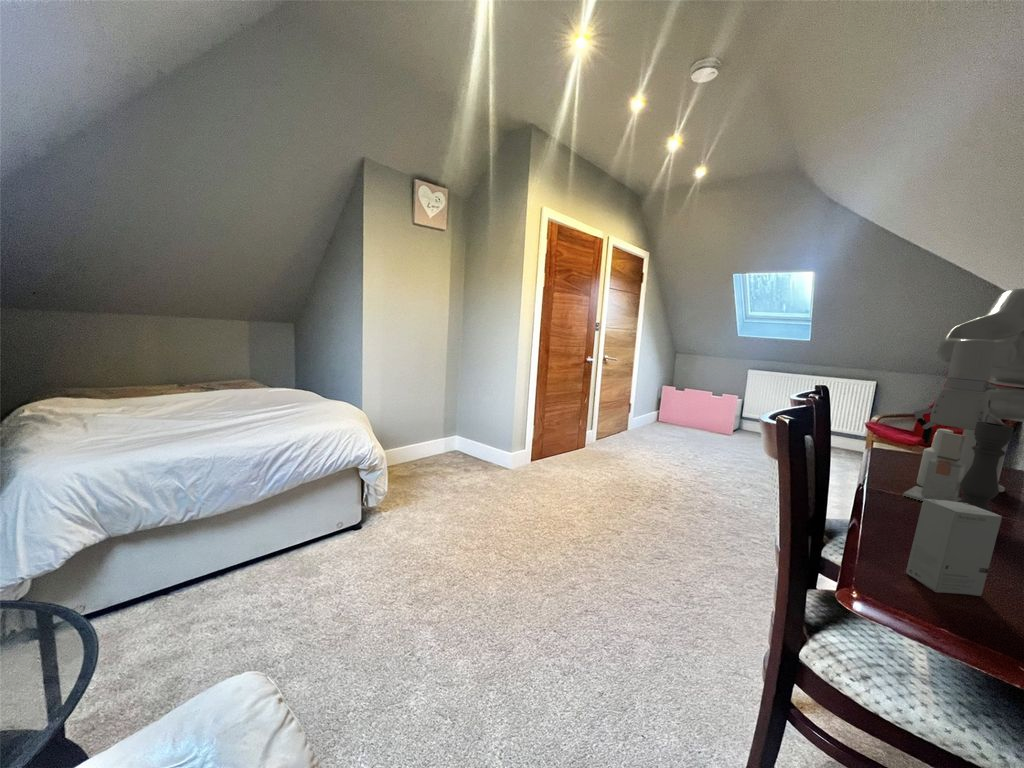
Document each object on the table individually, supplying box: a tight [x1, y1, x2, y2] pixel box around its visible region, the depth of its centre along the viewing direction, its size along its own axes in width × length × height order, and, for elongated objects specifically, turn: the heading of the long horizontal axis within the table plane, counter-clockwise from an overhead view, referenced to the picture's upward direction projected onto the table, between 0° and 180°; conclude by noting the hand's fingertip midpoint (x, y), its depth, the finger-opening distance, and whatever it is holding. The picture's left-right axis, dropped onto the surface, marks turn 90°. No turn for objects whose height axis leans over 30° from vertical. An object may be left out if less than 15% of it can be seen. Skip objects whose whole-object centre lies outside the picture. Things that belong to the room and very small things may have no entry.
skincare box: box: [905, 499, 1003, 597], centre depth 72 cm, size 8×6×15 cm
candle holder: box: [957, 422, 1015, 513], centre depth 97 cm, size 6×6×25 cm
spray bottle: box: [916, 428, 954, 488], centre depth 123 cm, size 7×7×18 cm
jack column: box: [937, 432, 965, 467], centre depth 112 cm, size 4×4×18 cm
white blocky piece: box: [902, 458, 966, 502], centre depth 113 cm, size 12×12×12 cm
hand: (950, 447), depth 111 cm, fingers open, 9 cm apart
